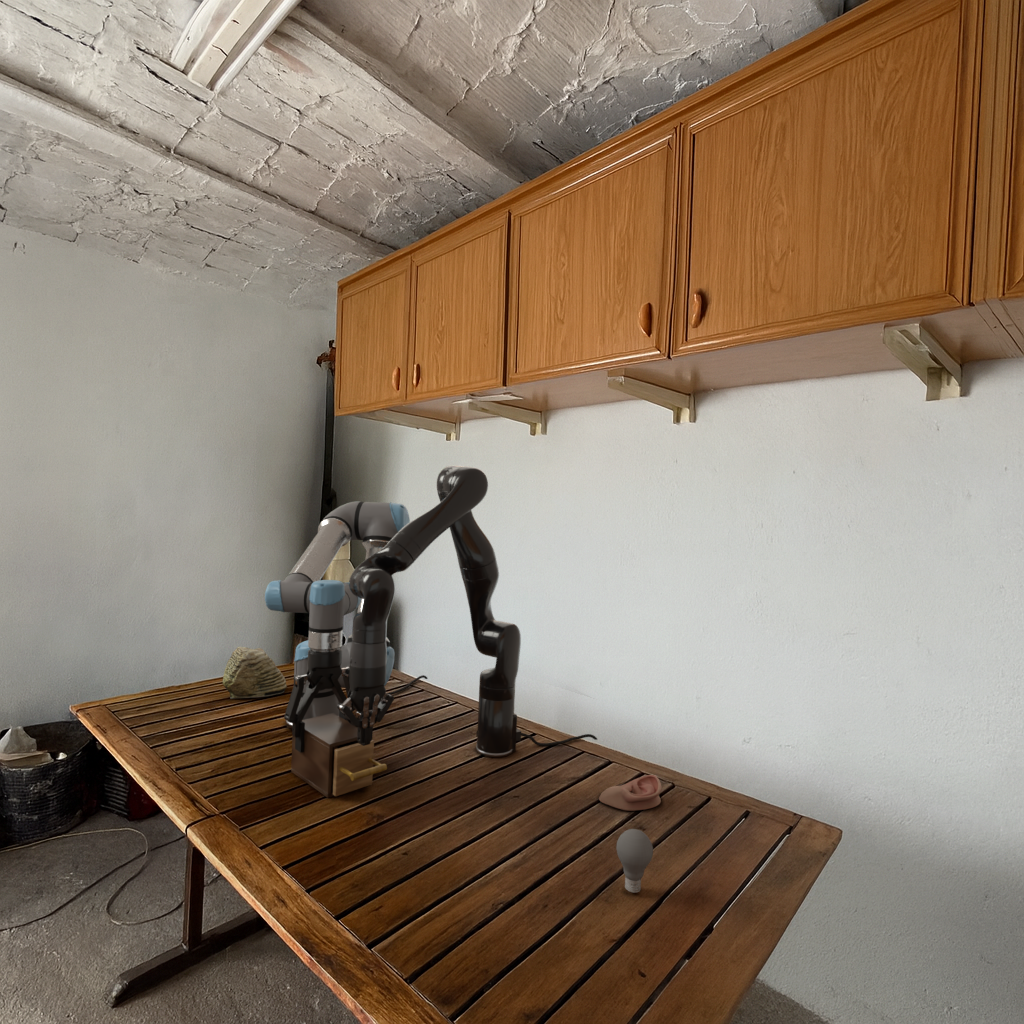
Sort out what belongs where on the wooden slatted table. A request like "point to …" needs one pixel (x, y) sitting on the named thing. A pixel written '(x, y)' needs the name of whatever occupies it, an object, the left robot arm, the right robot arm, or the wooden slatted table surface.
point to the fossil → (252, 674)
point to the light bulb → (634, 857)
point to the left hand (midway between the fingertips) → (321, 744)
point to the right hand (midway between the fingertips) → (364, 743)
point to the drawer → (353, 767)
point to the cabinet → (321, 750)
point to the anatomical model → (634, 794)
